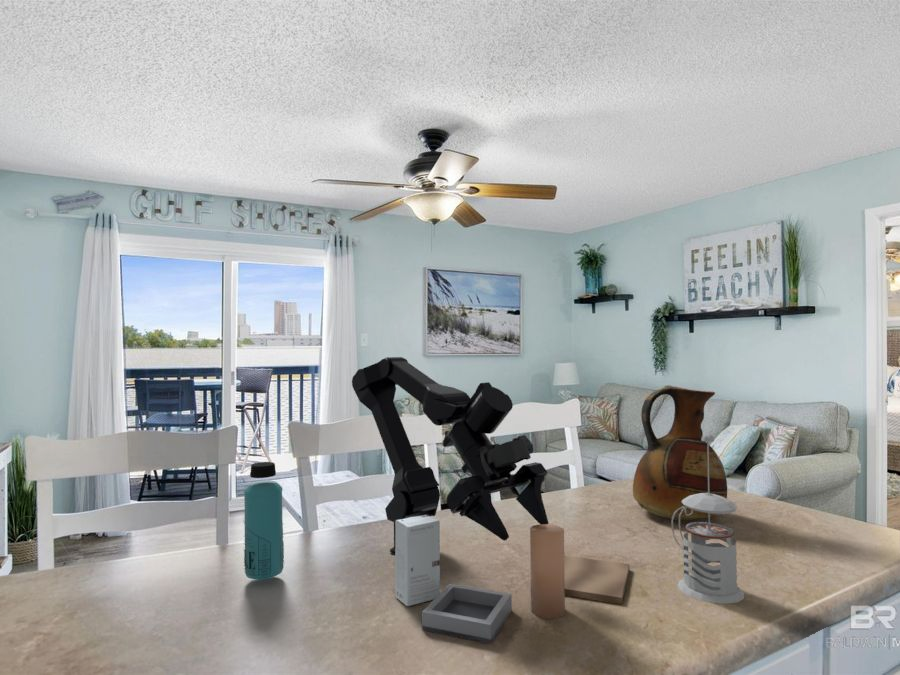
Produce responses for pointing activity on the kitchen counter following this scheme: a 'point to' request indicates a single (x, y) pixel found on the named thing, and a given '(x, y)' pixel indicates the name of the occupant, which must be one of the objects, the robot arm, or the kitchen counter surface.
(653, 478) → the ceramic pitcher
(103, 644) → the kitchen counter surface
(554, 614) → the terracotta canister
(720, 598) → the french press
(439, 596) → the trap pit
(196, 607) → the kitchen counter surface
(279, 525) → the beverage bottle
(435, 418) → the robot arm
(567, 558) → the mat
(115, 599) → the kitchen counter surface
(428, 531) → the skincare box
